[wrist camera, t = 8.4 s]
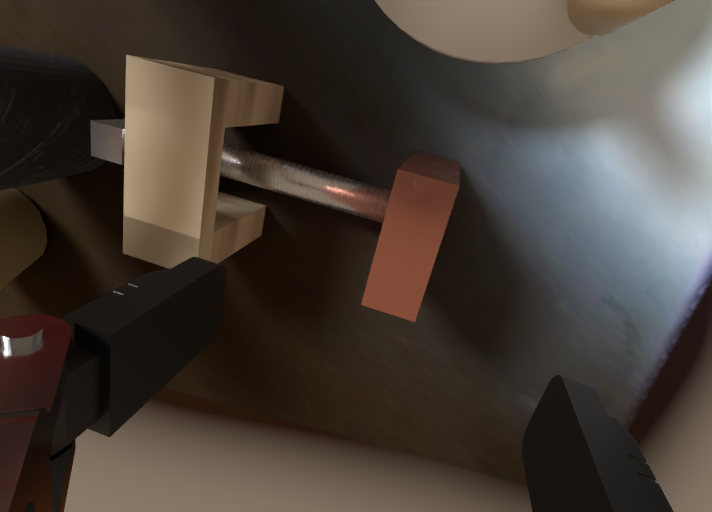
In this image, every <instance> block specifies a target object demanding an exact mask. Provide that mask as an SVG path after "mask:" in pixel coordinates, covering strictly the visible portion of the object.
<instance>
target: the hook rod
mask: <svg viewBox="0 0 712 512" xmlns="http://www.w3.org/2000/svg"><path fill="white" fill-rule="evenodd" d="M91 156H94V157H97V158H100V159H104V160H107V161H110V162H114V163H117V164H120V165H123V164H124V156H125V119H110V120H91ZM220 176H223V177H227V178H230V179H233V180H237V181H240V182H244V183H247V184H250V185H254V186H257V187H261V188H264V189H267V190H271V191H274V192H278V193H281V194H284V195H288V196H291V197H295V198H298V199H301V200H305V201H308V202H312V203H315V204H318V205H322V206H325V207H329V208H332V209H335V210H339V211H342V212H346V213H349V214H352V215H356V216H359V217H363V218H366V219H369V220H373V221H376V222H380V223H383V225H382V229H381V233H380V236H379V240H378V244H377V248H376V251H375V255H374V259H373V263H372V266H371V270H370V274H369V277H368V281H367V285H366V289H365V292H364V296H363V300H362V304H361V305H363V306H367V307H370V308H373V309H376V310H379V311H382V312H385V313H388V314H391V315H394V316H398V317H401V318H404V319H407V320H410V321H413V322H415V320H416V317H417V314H418V311H419V308H420V305H421V302H422V299H423V296H424V293H425V290H426V287H427V284H428V281H429V278H430V275H431V272H432V269H433V265H434V262H435V259H436V256H437V253H438V250H439V247H440V244H441V241H442V238H443V235H444V232H445V229H446V226H447V223H448V220H449V217H450V214H451V211H452V208H453V205H454V202H455V199H456V196H457V193H458V190H459V187H460V169H459V163H458V162H455V161H451V160H447V159H444V158H440V157H436V156H432V155H429V154H425V153H421V152H417V151H415V152H414V153H413V154H412V155H411V156H410V157H409V158H408V159H407V160H406V161H405V162H404V163H403V164H402V165H401V166H400V167H399V168H398V169H397V173H396V177H395V180H394V184H393V188H392V190H388V189H385V188H381V187H378V186H374V185H371V184H367V183H363V182H360V181H356V180H353V179H349V178H346V177H342V176H339V175H335V174H332V173H328V172H324V171H321V170H317V169H314V168H310V167H307V166H303V165H300V164H296V163H293V162H289V161H285V160H282V159H278V158H275V157H271V156H268V155H264V154H261V153H257V152H254V151H250V150H246V149H243V148H239V147H236V146H232V145H229V144H225V143H223V150H222V159H221V169H220Z"/></svg>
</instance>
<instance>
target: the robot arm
mask: <svg viewBox="0 0 712 512" xmlns="http://www.w3.org/2000/svg"><path fill="white" fill-rule="evenodd" d="M225 280H226V269H225V267H224V266H223V265H220V264H217V263H214V262H211V261H208V260H205V259H202V258H199V257H191V258H189V259H187V260H186V261H184V262H182V263H180V264H178V265H177V266H175V267H173V268H171V269H169V268H166V269H162V270H158V271H153V272H149V273H145V274H143V275H141V276H139V277H138V278H136V279H134V280H132V281H130V282H128V285H126V284H124V285H122V286H120V287H118V288H116V289H115V290H114V291H113V293H112V292H109V293H107V294H105V295H103V296H101V297H99V298H97V299H95V300H94V301H92V302H90V303H88V304H86V305H84V306H82V307H80V308H78V309H76V310H74V311H72V312H71V313H69V314H67V315H65V316H63V317H61V318H57V317H54V316H49V315H41V314H27V315H17V316H12V317H7V318H3V319H0V512H64V508H65V502H66V497H67V491H68V487H69V481H70V476H71V470H72V465H73V460H74V454H75V448H76V444H75V443H76V441H75V439H76V438H77V437H78V436H79V435H80V434H81V433H83V432H84V431H85V430H86V429H87V428H88V429H91V430H93V431H95V432H98V433H100V434H103V435H105V436H108V437H110V436H111V435H113V433H114V432H116V431H117V430H118V429H119V428H120V427H121V426H122V425H123V424H124V423H125V422H126V421H127V420H129V418H131V417H132V416H133V415H134V414H135V413H136V412H137V411H138V410H139V409H140V408H141V407H142V406H143V405H144V404H146V403H147V402H148V401H149V400H150V399H151V398H152V397H153V396H154V395H155V394H156V393H157V392H158V391H159V390H160V389H162V388H163V387H164V386H165V385H166V384H167V383H168V382H169V381H170V380H171V379H172V378H173V377H174V376H175V375H177V374H178V373H179V372H180V371H181V370H182V369H183V368H184V367H185V366H186V365H187V364H188V363H189V362H190V361H191V360H193V359H194V358H195V357H196V356H197V355H198V354H199V353H200V352H201V351H202V350H203V349H204V348H205V347H206V346H207V345H208V344H209V343H210V342H211V341H212V340H213V338H214V336H215V335H216V332H217V330H218V328H219V325H220V320H221V312H222V304H223V296H224V288H225ZM522 457H523V462H524V468H525V473H526V479H527V484H528V490H529V495H530V500H531V506H532V511H533V512H673V510H672V508H671V506H670V504H669V503H668V501H667V499H666V497H665V495H664V493H663V491H662V489H661V487H660V486H659V484H657V483H655V480H656V478H655V476H654V474H653V472H652V471H651V469H650V467H649V465H647V464H646V459H645V458H644V456H643V454H642V452H641V450H640V448H639V446H638V444H637V443H636V441H635V439H634V438H633V437H632V436H631V435H630V433H629V432H628V431H627V430H626V429H625V428H624V427H623V426H622V425H621V424H620V423H619V422H618V421H617V419H616V418H614V417H611V416H609V415H608V413H607V411H606V409H605V407H604V405H603V403H602V401H601V399H600V397H599V395H598V392H597V391H596V389H595V388H594V387H593V386H590V385H587V384H584V383H581V382H578V381H575V380H572V379H569V378H565V377H562V376H559V375H556V376H554V377H553V378H552V379H551V381H550V382H549V384H548V386H547V388H546V390H545V392H544V394H543V396H542V398H541V400H540V402H539V404H538V406H537V408H536V410H535V412H534V414H533V416H532V418H531V420H530V422H529V424H528V426H527V428H526V430H525V434H524V438H523V443H522Z"/></svg>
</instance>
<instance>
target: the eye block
mask: <svg viewBox="0 0 712 512" xmlns="http://www.w3.org/2000/svg"><path fill="white" fill-rule="evenodd" d="M283 92H284V86H281V85H277V84H273V83H269V82H265V81H261V80H257V79H254V78H250V77H246V76H242V75H238V74H234V73H230V72H226V71H222V70H218V69H212V68H206V67H199V66H193V65H187V64H181V63H174V62H168V61H162V60H156V59H149V58H143V57H137V56H131V55H126V99H125V156H124V214H123V254H126V255H129V256H132V257H135V258H139V259H142V260H145V261H148V262H151V263H154V264H157V265H160V266H163V267H166V268H169V269H171V268H173V267H175V266H177V265H178V264H180V263H182V262H184V261H186V260H187V259H189V258H191V257H199V258H202V259H205V260H208V261H211V262H214V263H217V264H218V263H220V262H221V261H223V260H224V259H226V258H227V257H229V256H230V255H232V254H233V253H235V252H237V251H238V250H240V249H241V248H243V247H244V246H246V245H247V244H249V243H250V242H252V241H254V240H255V239H257V238H258V237H260V236H261V235H262V229H263V223H264V216H265V210H266V205H262V204H259V203H256V202H252V201H249V200H246V199H242V198H239V197H236V196H232V195H229V194H226V193H222V192H219V191H218V188H219V178H220V169H221V159H222V150H223V140H224V131H225V128H227V127H239V126H251V125H263V124H274V123H279V118H280V111H281V105H282V98H283Z"/></svg>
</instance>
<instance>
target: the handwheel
mask: <svg viewBox="0 0 712 512" xmlns="http://www.w3.org/2000/svg"><path fill="white" fill-rule="evenodd" d="M375 1H376V3H377V4H378V5H379V7H380V8H381V9H382V11H383V12H384V13H385V14H386V15H387V16H388V17H389V18H390V19H391V20H392V21H393V22H394V23H395V24H396V25H397V26H398V27H399V28H400V29H401V30H402V31H403V32H405V33H406V34H407V35H409V36H410V37H411V38H413V39H414V40H415V41H417V42H419V43H420V44H422V45H424V46H426V47H428V48H430V49H432V50H433V51H435V52H438V53H441V54H444V55H446V56H449V57H452V58H455V59H460V60H464V61H469V62H474V63H488V64H504V63H517V62H524V61H528V60H533V59H538V58H543V57H546V56H549V55H551V54H554V53H557V52H560V51H563V50H566V49H568V48H570V47H572V46H574V45H576V44H579V43H581V42H583V41H585V40H587V39H589V38H591V37H593V36H595V35H603V34H607V33H610V32H612V31H614V30H616V29H618V28H620V27H622V26H624V25H626V24H628V23H630V22H632V21H634V20H636V19H638V18H640V17H642V16H644V15H646V14H648V13H650V12H652V11H654V10H656V9H658V8H660V7H662V6H664V5H666V4H668V3H670V2H672V1H674V0H375Z"/></svg>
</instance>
